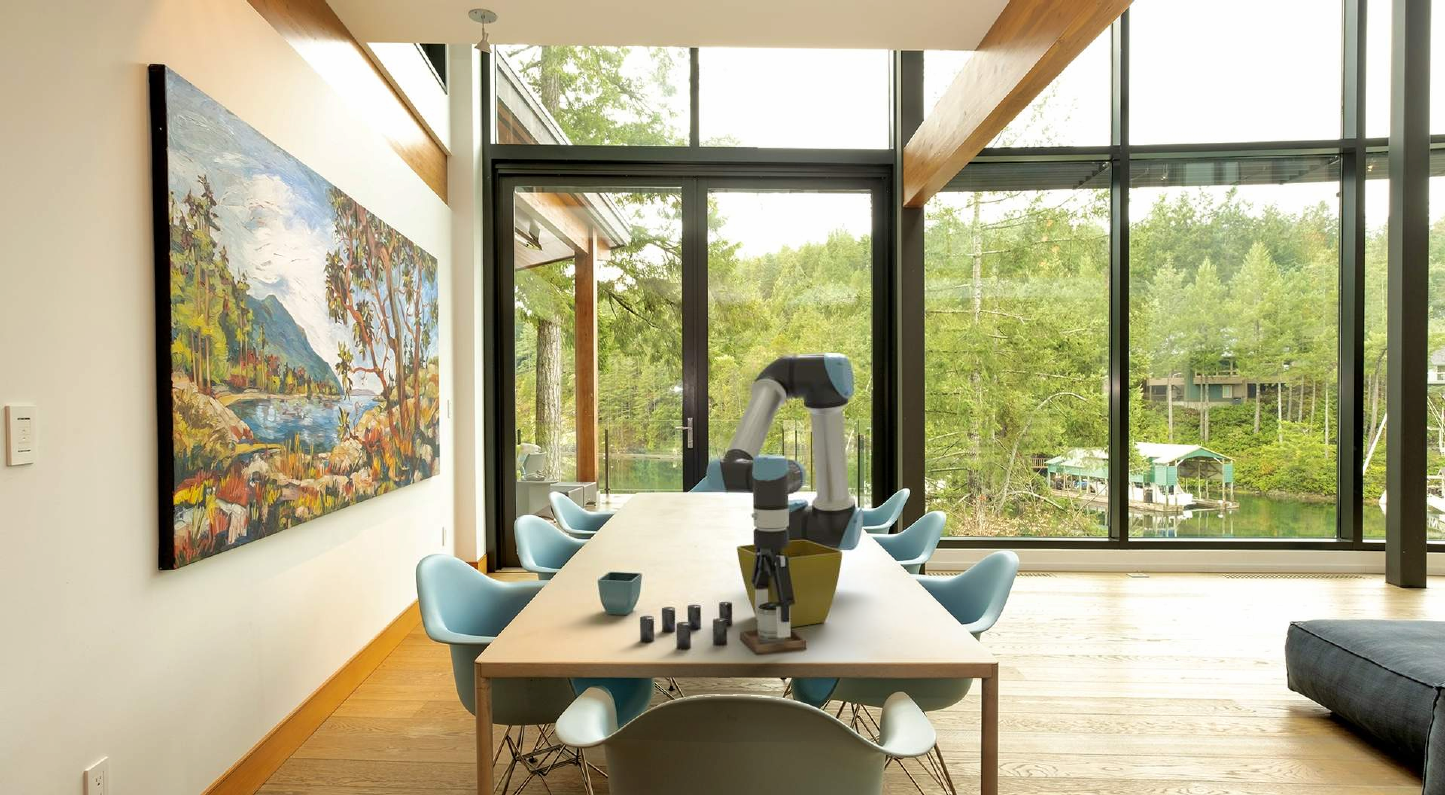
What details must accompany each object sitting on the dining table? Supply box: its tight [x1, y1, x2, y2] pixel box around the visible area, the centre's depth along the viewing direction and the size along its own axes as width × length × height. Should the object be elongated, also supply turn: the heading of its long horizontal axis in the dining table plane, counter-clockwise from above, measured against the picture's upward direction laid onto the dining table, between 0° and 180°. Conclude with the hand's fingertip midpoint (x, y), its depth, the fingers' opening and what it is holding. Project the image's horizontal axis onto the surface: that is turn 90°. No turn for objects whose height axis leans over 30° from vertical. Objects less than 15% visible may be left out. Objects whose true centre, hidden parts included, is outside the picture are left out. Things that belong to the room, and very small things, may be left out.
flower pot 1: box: [597, 571, 643, 616], centre depth 194 cm, size 9×9×9 cm
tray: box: [739, 627, 807, 656], centre depth 168 cm, size 11×11×2 cm
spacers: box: [639, 601, 733, 651], centre depth 174 cm, size 22×16×5 cm
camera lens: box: [757, 602, 786, 644], centre depth 168 cm, size 6×6×8 cm
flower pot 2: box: [736, 540, 843, 628], centre depth 186 cm, size 19×19×17 cm
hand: (772, 627), depth 168 cm, fingers open, 13 cm apart
